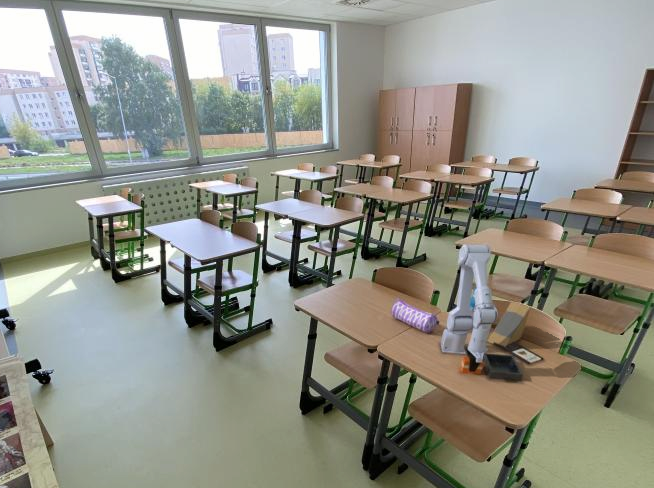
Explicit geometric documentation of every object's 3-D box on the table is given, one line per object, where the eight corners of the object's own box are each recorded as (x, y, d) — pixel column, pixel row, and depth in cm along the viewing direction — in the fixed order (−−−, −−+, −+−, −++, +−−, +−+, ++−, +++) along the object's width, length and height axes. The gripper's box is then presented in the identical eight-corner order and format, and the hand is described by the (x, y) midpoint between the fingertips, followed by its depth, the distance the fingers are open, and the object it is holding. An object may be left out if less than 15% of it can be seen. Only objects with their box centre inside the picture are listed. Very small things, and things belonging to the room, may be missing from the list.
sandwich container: (485, 341, 174) (493, 310, 167) (503, 331, 183) (511, 301, 175) (504, 348, 169) (513, 316, 161) (521, 337, 177) (530, 307, 170)
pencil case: (438, 330, 182) (441, 311, 177) (426, 336, 177) (430, 317, 172) (399, 314, 196) (402, 296, 191) (388, 319, 191) (390, 301, 186)
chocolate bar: (507, 338, 175) (543, 357, 162) (507, 340, 176) (542, 359, 162) (493, 342, 172) (528, 363, 158) (492, 344, 172) (527, 365, 159)
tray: (488, 379, 150) (490, 371, 148) (481, 360, 161) (483, 352, 160) (520, 382, 149) (523, 374, 147) (511, 362, 160) (513, 355, 158)
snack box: (461, 372, 153) (464, 361, 150) (460, 368, 156) (463, 356, 153) (480, 374, 152) (483, 362, 149) (478, 369, 155) (482, 358, 152)
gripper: (495, 348, 139) (485, 380, 146) (486, 329, 151) (478, 359, 159) (474, 346, 140) (466, 378, 147) (467, 327, 152) (460, 357, 159)
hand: (471, 368), depth 153 cm, fingers closed on snack box, 3 cm apart
